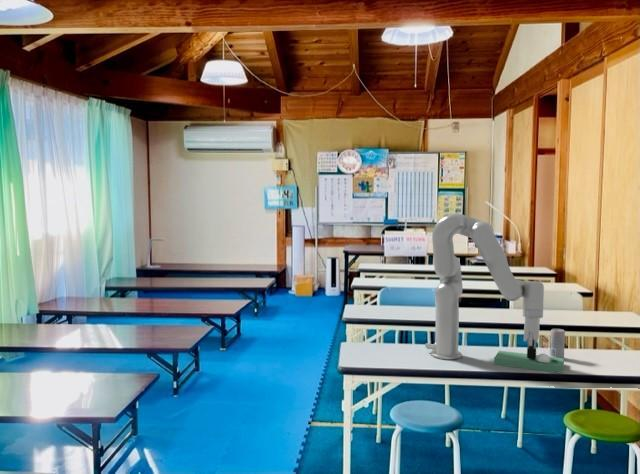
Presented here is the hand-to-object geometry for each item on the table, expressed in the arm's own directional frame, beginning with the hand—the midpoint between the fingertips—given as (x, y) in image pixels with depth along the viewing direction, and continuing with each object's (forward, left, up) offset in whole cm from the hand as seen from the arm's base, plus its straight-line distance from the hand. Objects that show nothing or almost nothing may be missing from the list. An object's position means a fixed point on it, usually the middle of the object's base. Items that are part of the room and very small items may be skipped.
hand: (531, 357), depth 218 cm
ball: (+4, 0, 0) cm, 4 cm away
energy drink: (+8, +15, -3) cm, 18 cm away
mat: (-1, +1, -3) cm, 3 cm away
